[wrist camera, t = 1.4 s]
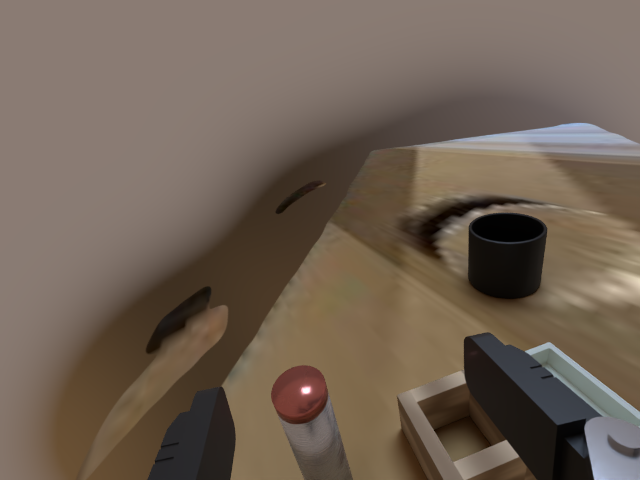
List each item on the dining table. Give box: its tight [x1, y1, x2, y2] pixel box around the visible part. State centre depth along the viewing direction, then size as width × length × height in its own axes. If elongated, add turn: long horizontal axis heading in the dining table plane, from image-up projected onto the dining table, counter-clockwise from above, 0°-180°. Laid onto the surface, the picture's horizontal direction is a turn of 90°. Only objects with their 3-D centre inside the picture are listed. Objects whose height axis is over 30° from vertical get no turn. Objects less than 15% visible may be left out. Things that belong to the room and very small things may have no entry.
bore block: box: [397, 370, 537, 480], centre depth 28 cm, size 8×8×5 cm
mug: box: [468, 213, 547, 298], centre depth 48 cm, size 9×12×9 cm
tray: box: [525, 342, 640, 427], centre depth 30 cm, size 10×10×3 cm
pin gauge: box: [271, 366, 353, 480], centre depth 24 cm, size 4×4×15 cm
